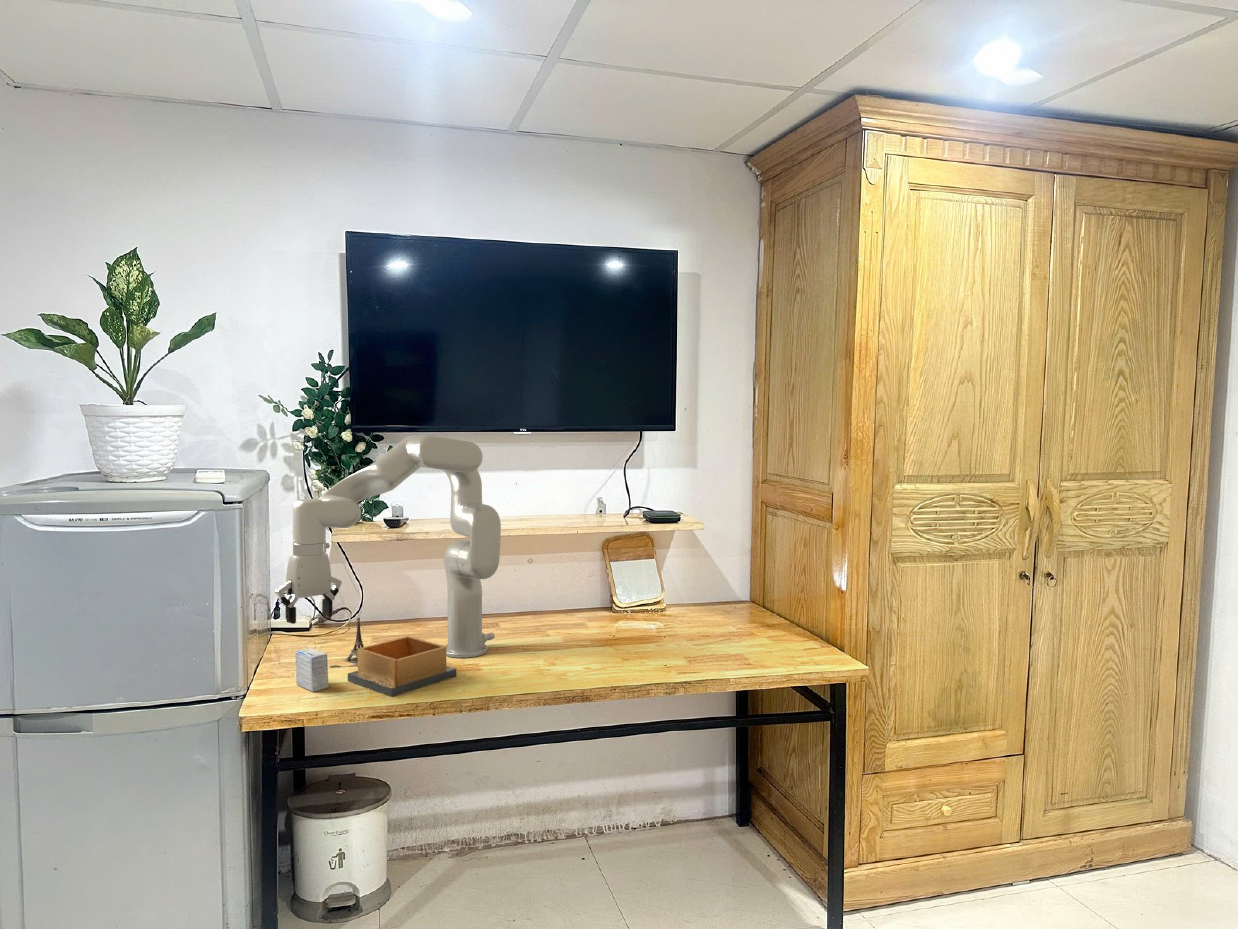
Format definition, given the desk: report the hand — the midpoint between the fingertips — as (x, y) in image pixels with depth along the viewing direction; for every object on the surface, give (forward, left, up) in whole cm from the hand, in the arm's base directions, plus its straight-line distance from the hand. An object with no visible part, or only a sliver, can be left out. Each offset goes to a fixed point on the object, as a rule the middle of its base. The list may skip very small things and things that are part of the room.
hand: (309, 619), depth 210 cm
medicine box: (0, 0, -17) cm, 17 cm away
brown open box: (-18, +12, -17) cm, 28 cm away
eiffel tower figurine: (-20, -10, -18) cm, 29 cm away
